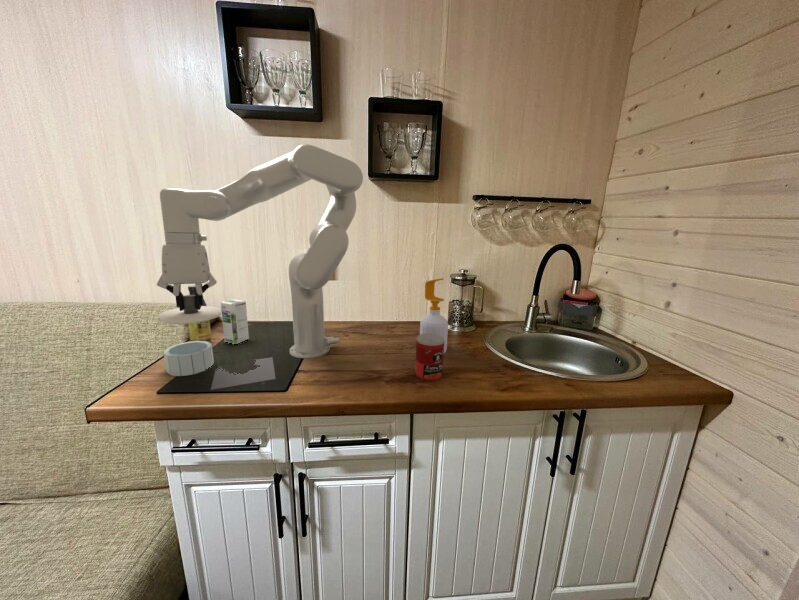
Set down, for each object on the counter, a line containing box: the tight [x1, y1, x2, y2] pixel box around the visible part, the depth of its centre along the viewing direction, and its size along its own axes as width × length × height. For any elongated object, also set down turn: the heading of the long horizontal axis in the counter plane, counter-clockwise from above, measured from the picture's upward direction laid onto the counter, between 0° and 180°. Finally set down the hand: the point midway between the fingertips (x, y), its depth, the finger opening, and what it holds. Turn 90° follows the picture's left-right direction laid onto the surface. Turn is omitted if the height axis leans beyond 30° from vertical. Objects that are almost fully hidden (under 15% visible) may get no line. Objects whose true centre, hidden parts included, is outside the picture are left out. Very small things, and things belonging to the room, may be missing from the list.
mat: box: [210, 356, 276, 391], centre depth 88 cm, size 15×15×1 cm
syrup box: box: [220, 299, 250, 345], centre depth 109 cm, size 6×6×14 cm
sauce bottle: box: [187, 284, 212, 343], centre depth 106 cm, size 6×6×20 cm
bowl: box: [163, 341, 215, 377], centre depth 89 cm, size 11×11×6 cm
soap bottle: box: [419, 278, 449, 354], centre depth 104 cm, size 9×9×25 cm
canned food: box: [414, 333, 445, 382], centre depth 88 cm, size 8×8×11 cm
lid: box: [158, 294, 222, 325], centre depth 85 cm, size 14×14×6 cm
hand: (190, 308), depth 85 cm, fingers closed on lid, 3 cm apart
